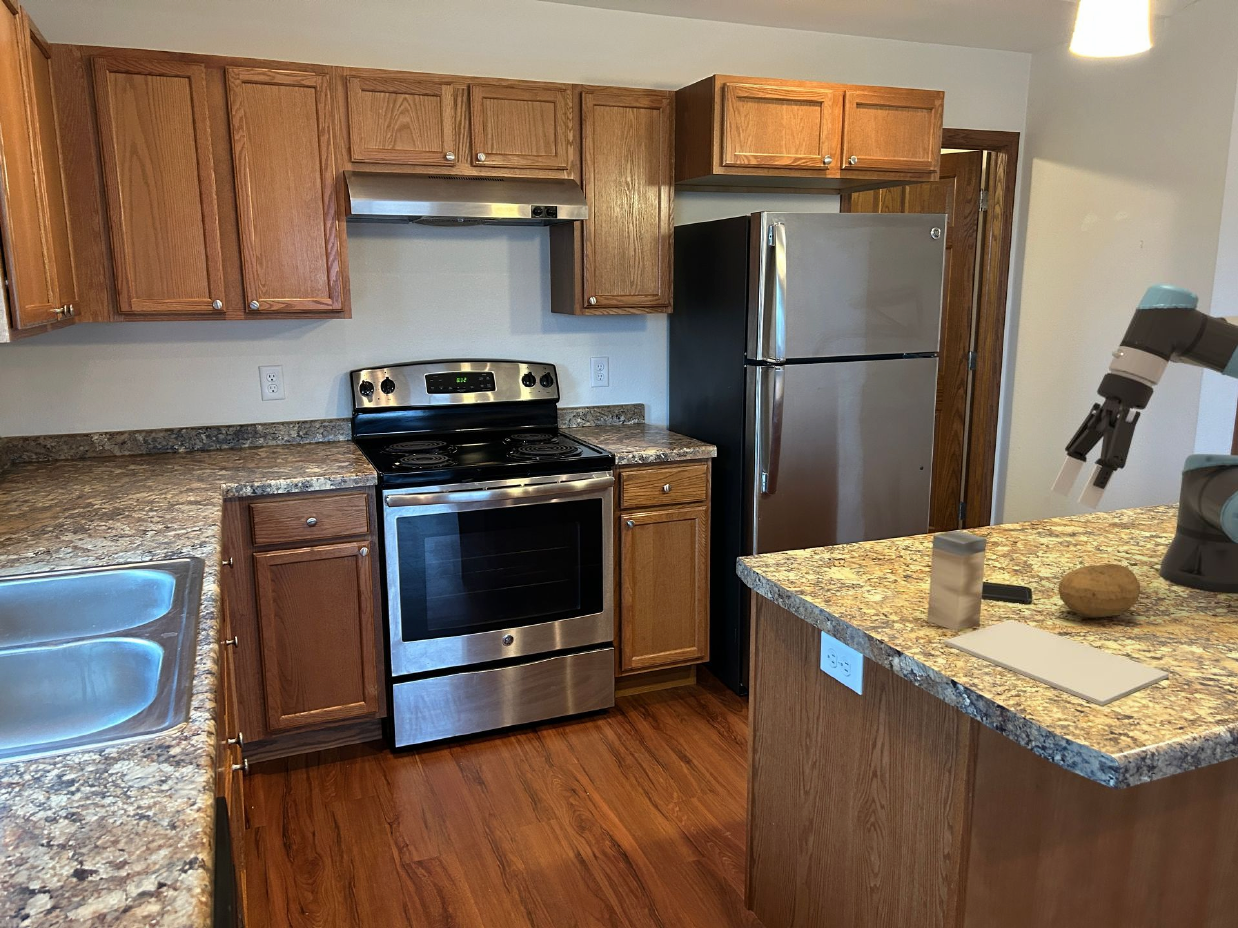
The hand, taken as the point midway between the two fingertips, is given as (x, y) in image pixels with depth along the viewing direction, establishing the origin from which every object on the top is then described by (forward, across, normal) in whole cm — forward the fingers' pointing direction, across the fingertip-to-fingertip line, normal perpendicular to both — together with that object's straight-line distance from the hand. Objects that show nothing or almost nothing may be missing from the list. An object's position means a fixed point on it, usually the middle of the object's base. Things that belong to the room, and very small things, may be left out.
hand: (1071, 499), depth 151 cm
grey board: (+22, +25, -2) cm, 33 cm away
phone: (+21, -4, -5) cm, 22 cm away
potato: (+16, +5, +9) cm, 19 cm away
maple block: (+24, +12, -12) cm, 30 cm away
